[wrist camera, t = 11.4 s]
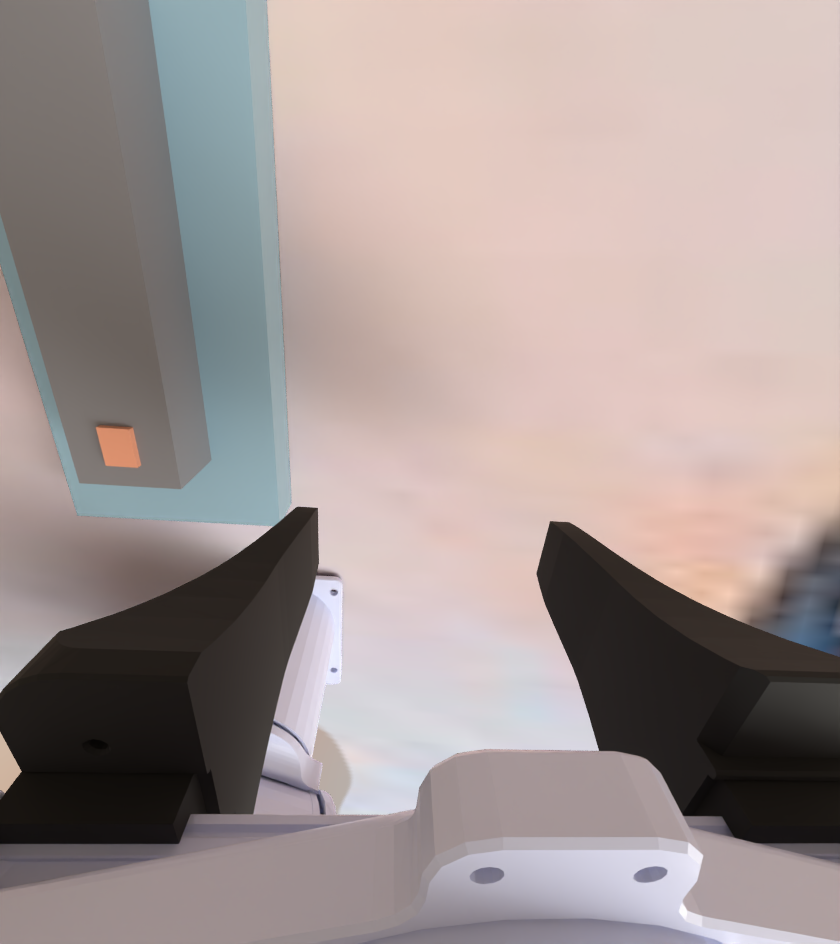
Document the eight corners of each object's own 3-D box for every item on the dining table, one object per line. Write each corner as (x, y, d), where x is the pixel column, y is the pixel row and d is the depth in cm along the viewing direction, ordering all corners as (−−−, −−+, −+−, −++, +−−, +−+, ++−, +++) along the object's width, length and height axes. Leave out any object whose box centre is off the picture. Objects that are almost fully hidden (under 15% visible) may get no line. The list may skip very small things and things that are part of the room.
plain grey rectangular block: (227, 444, 22) (178, 492, 17) (147, 439, 21) (74, 485, 17) (178, 30, 15) (74, -85, 10) (60, 13, 15) (-105, -113, 10)
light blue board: (291, 502, 24) (279, 526, 22) (109, 492, 23) (77, 515, 21) (259, -132, 14) (231, -213, 11) (-68, -186, 13) (-168, -284, 11)
